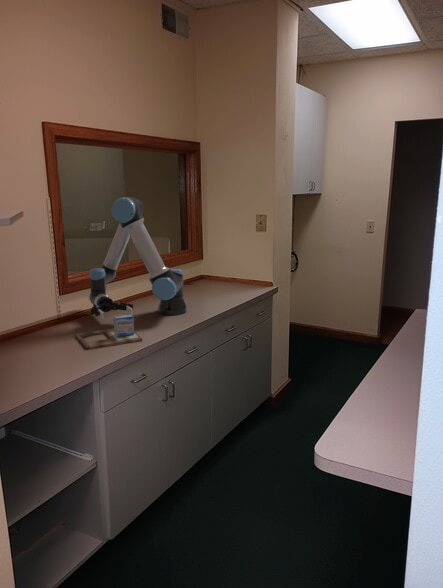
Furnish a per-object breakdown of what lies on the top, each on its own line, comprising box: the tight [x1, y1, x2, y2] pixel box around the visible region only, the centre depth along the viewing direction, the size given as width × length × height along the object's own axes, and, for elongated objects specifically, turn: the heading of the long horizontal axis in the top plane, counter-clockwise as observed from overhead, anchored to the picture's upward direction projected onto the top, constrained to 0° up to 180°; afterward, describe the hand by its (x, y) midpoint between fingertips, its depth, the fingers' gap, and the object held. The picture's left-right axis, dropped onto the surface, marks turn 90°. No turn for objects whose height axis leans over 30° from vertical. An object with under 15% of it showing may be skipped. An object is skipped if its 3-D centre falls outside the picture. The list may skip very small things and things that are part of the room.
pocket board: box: [75, 327, 143, 351], centre depth 207 cm, size 24×20×1 cm
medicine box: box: [113, 313, 135, 337], centre depth 207 cm, size 8×4×9 cm, turn 118°
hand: (117, 313), depth 214 cm, fingers open, 13 cm apart
